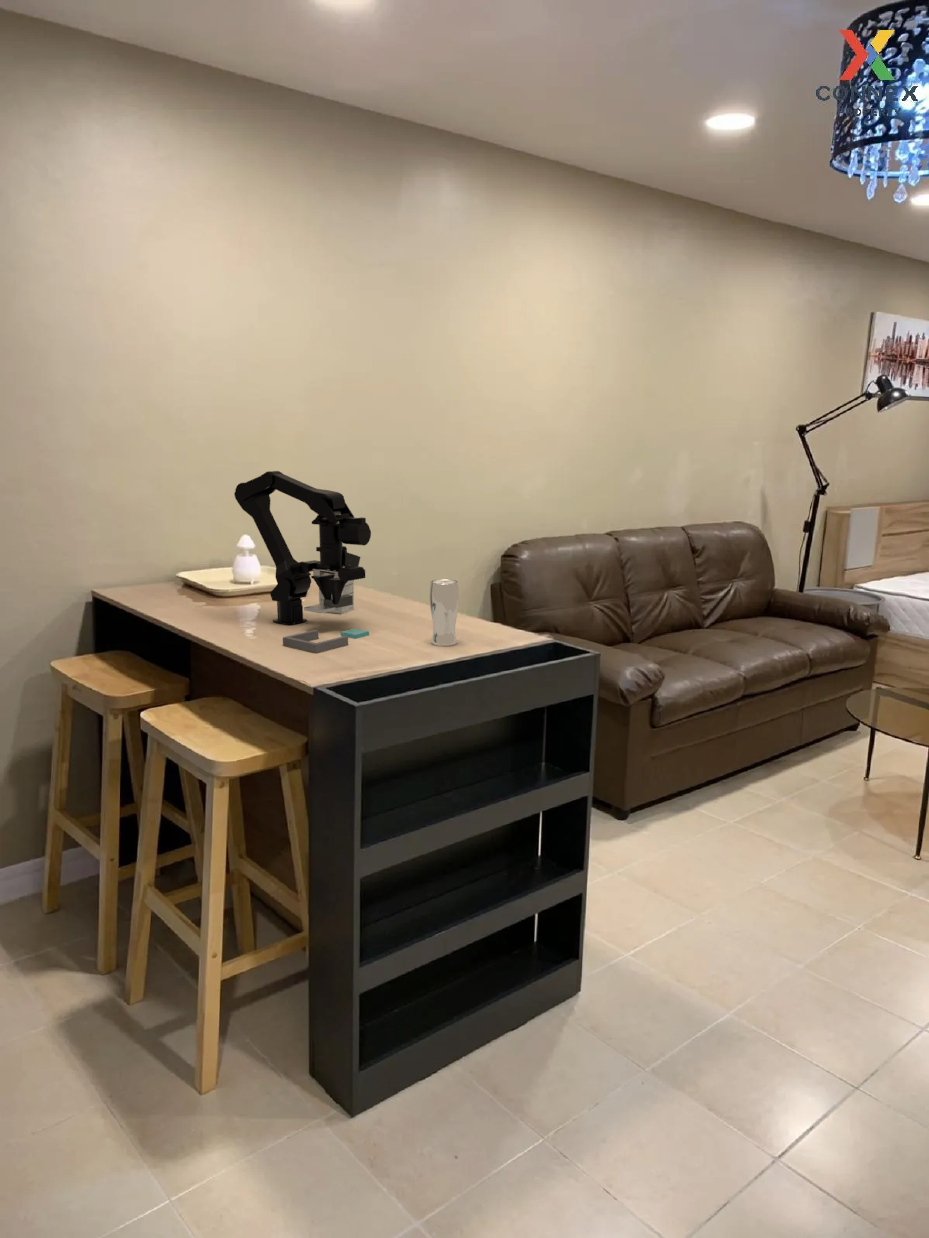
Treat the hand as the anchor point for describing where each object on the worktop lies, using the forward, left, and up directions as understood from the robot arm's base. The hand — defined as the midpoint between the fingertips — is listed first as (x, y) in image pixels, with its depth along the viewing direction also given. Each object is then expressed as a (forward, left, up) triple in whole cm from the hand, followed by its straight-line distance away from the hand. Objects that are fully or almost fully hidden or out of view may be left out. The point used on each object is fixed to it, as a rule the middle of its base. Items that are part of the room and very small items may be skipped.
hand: (332, 603), depth 230 cm
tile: (+10, -3, -7) cm, 13 cm away
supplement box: (-15, +15, -7) cm, 22 cm away
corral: (+10, -15, -6) cm, 19 cm away
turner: (0, -1, -1) cm, 1 cm away
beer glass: (+32, +5, -6) cm, 33 cm away
